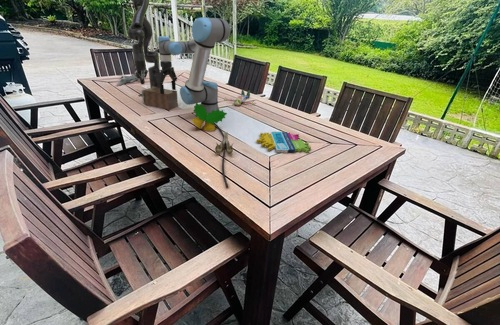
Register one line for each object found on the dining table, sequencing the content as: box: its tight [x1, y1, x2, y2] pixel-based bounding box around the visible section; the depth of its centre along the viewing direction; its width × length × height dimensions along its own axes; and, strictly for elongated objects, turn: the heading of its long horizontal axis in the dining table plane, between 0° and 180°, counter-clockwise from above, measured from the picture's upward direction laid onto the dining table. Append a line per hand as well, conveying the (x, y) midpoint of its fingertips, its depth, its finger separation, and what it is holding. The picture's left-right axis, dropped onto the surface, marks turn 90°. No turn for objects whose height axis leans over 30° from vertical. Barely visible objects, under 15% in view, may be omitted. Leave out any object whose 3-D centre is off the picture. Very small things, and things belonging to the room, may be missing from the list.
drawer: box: [138, 87, 150, 104], centre depth 197 cm, size 25×10×10 cm, turn 69°
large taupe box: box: [143, 87, 179, 111], centre depth 196 cm, size 21×11×12 cm, turn 69°
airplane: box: [114, 73, 148, 87], centre depth 254 cm, size 38×31×10 cm
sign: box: [256, 131, 312, 154], centre depth 152 cm, size 26×2×30 cm
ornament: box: [191, 102, 228, 132], centre depth 162 cm, size 21×8×15 cm, turn 105°
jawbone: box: [214, 131, 234, 156], centre depth 136 cm, size 9×15×10 cm
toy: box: [223, 89, 257, 106], centre depth 219 cm, size 28×7×30 cm
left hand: (142, 84), depth 196 cm, fingers closed
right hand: (168, 91), depth 191 cm, fingers open, 13 cm apart
